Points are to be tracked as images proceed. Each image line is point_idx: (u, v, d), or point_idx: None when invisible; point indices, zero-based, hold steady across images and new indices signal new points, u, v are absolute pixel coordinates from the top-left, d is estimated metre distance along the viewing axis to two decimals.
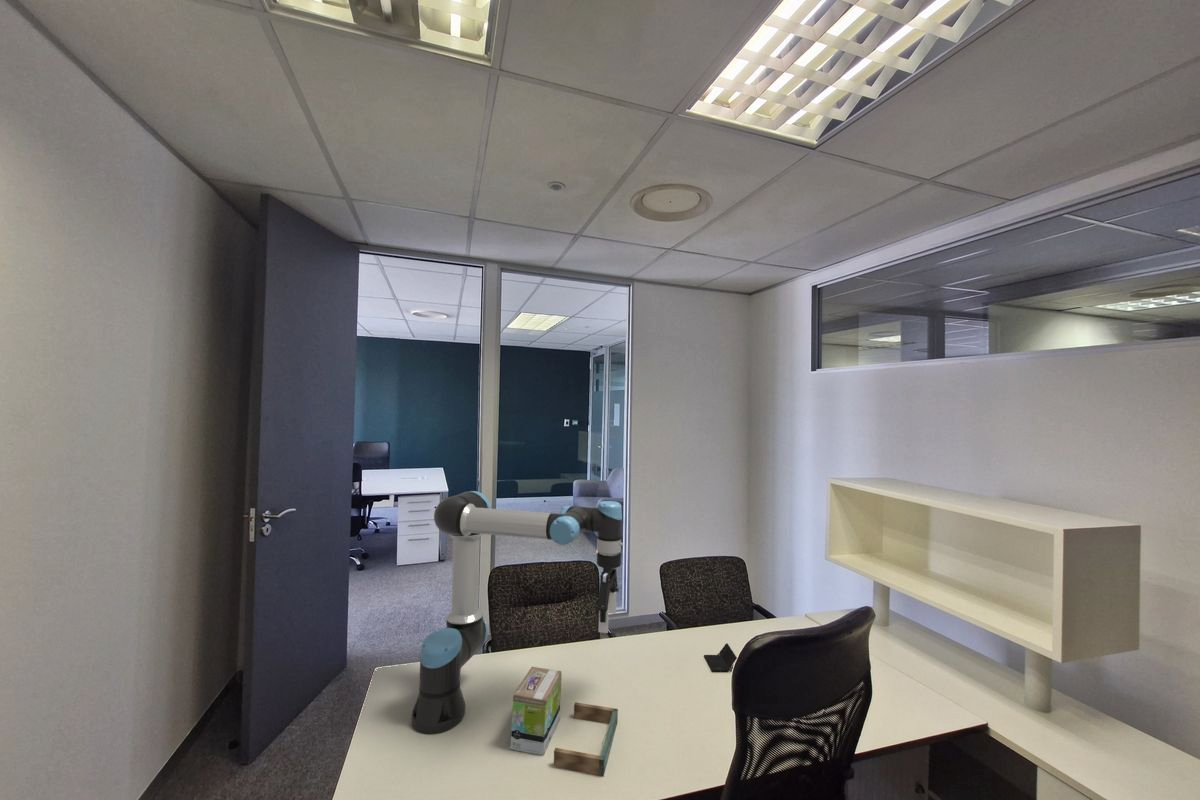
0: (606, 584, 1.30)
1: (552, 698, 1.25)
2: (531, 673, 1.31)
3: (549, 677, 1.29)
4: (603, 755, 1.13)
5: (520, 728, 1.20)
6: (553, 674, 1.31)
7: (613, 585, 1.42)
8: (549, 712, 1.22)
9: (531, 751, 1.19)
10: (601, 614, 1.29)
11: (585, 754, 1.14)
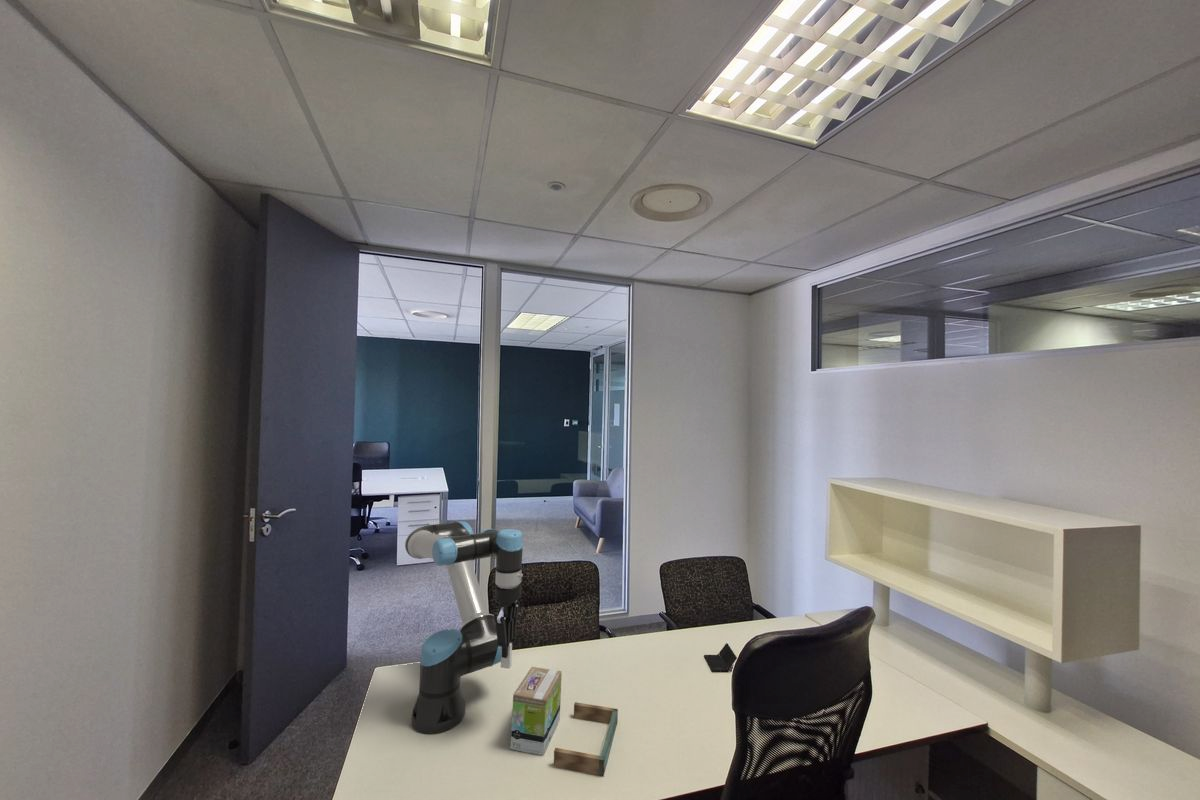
0: (502, 625, 1.25)
1: (552, 698, 1.25)
2: (531, 673, 1.31)
3: (549, 677, 1.29)
4: (603, 755, 1.13)
5: (520, 728, 1.20)
6: (553, 674, 1.31)
7: (510, 628, 1.30)
8: (549, 712, 1.22)
9: (531, 751, 1.19)
10: (502, 649, 1.28)
11: (585, 754, 1.14)
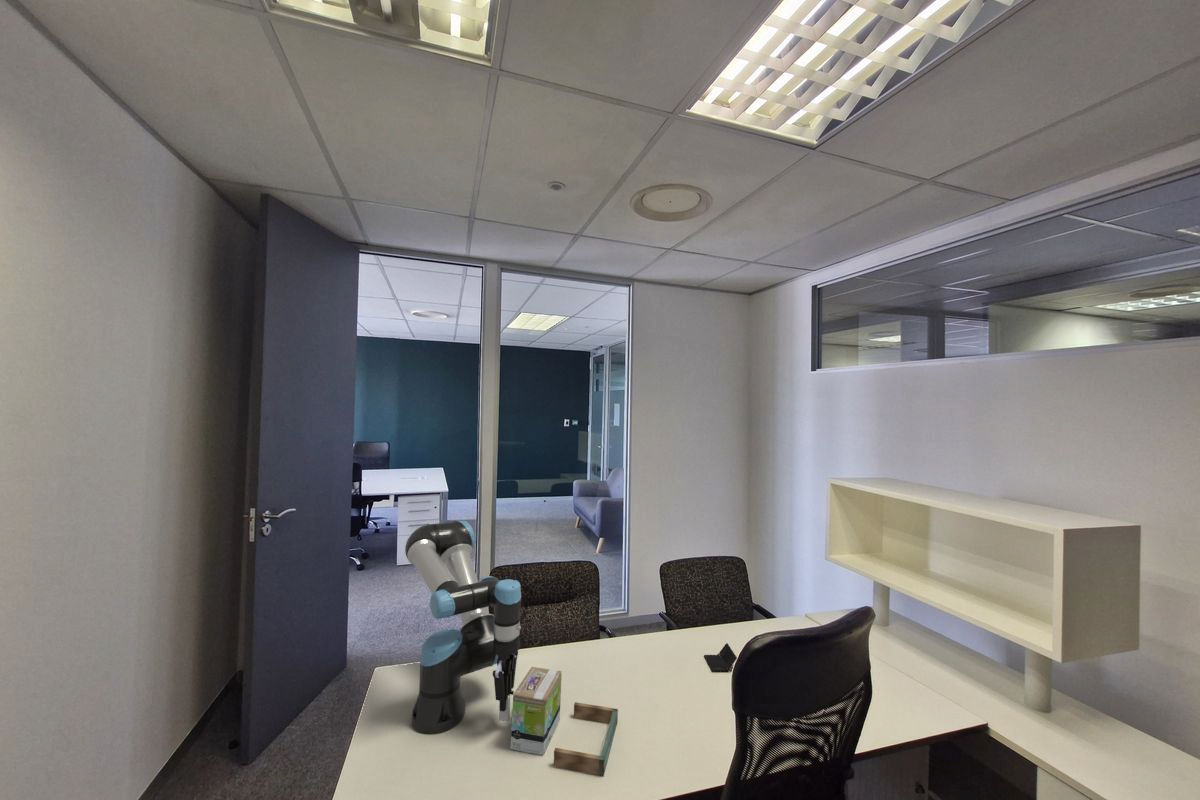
0: (500, 680, 1.24)
1: (552, 698, 1.25)
2: (531, 673, 1.31)
3: (549, 677, 1.29)
4: (603, 755, 1.13)
5: (520, 728, 1.20)
6: (553, 674, 1.31)
7: (508, 681, 1.30)
8: (549, 712, 1.22)
9: (531, 751, 1.19)
10: (501, 703, 1.27)
11: (585, 754, 1.14)
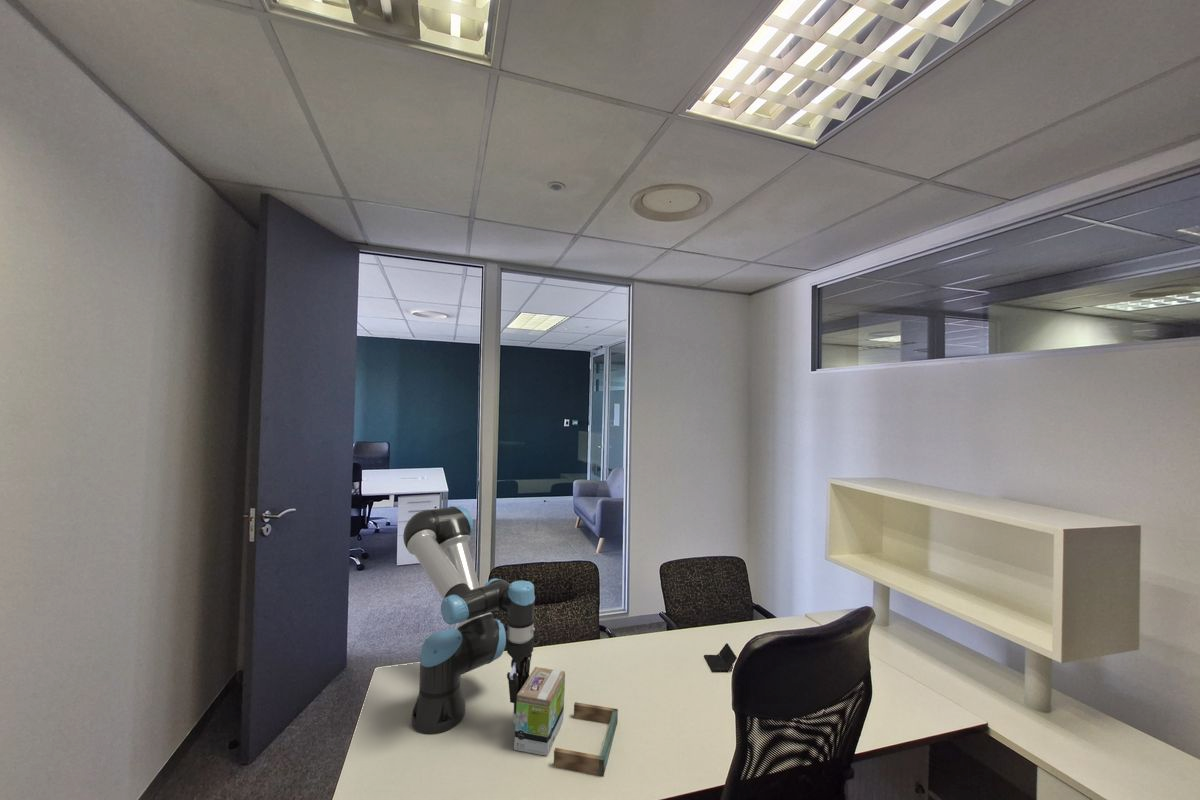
0: (514, 682, 1.23)
1: (556, 699, 1.24)
2: (534, 673, 1.31)
3: (552, 677, 1.29)
4: (603, 755, 1.13)
5: (524, 728, 1.20)
6: (557, 674, 1.31)
7: None
8: (553, 712, 1.22)
9: (535, 751, 1.19)
10: (515, 705, 1.26)
11: (585, 754, 1.14)
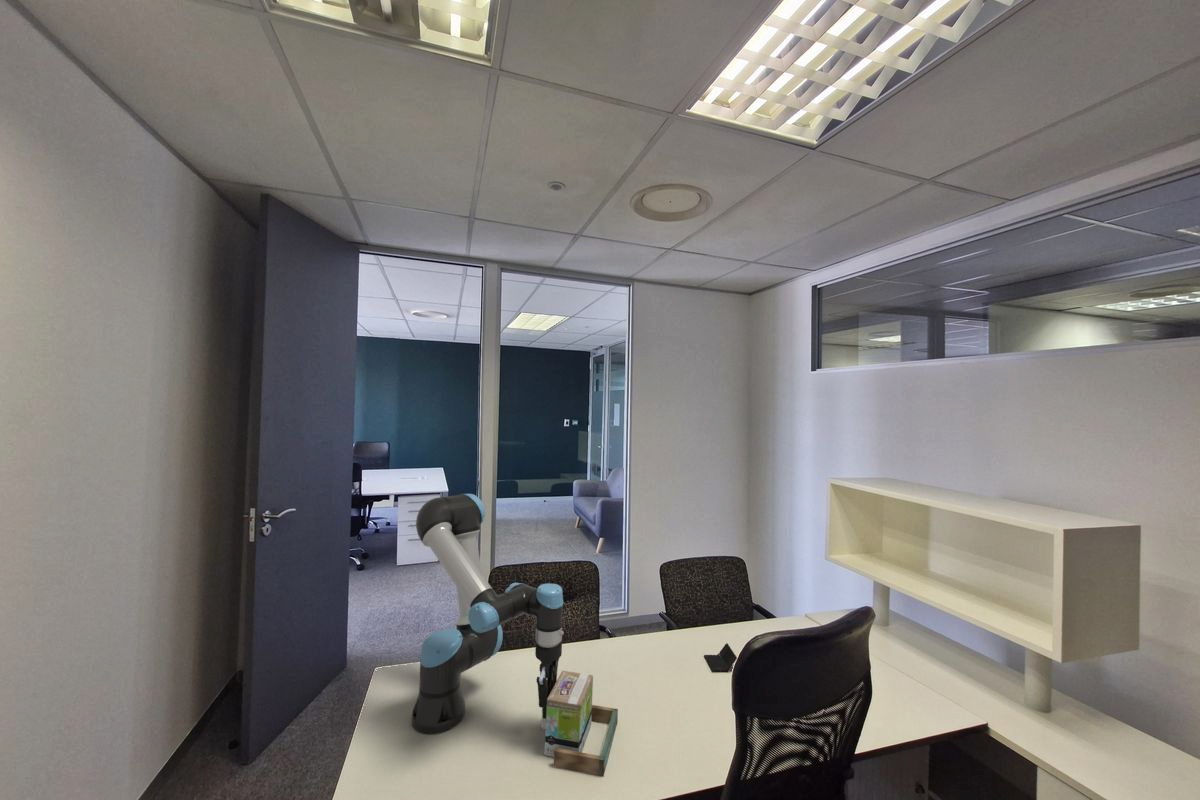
0: (544, 686, 1.21)
1: (586, 703, 1.23)
2: (562, 677, 1.29)
3: (581, 681, 1.27)
4: (603, 755, 1.13)
5: (554, 733, 1.18)
6: (585, 678, 1.29)
7: (551, 687, 1.27)
8: (583, 717, 1.20)
9: None
10: (544, 710, 1.24)
11: (585, 754, 1.14)
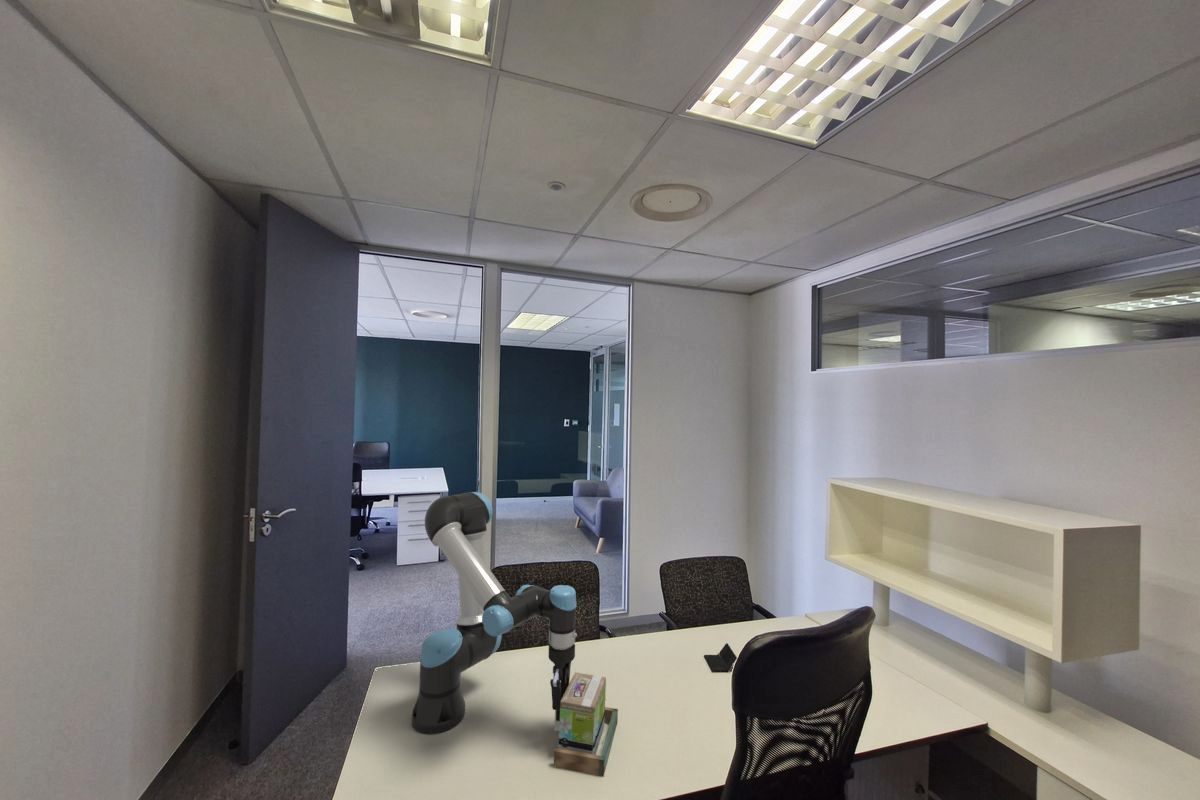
0: (558, 689, 1.20)
1: (599, 706, 1.22)
2: (575, 679, 1.29)
3: (594, 683, 1.26)
4: (603, 755, 1.13)
5: (568, 736, 1.17)
6: (598, 680, 1.28)
7: (564, 689, 1.26)
8: (597, 720, 1.19)
9: None
10: (557, 712, 1.23)
11: (585, 754, 1.14)
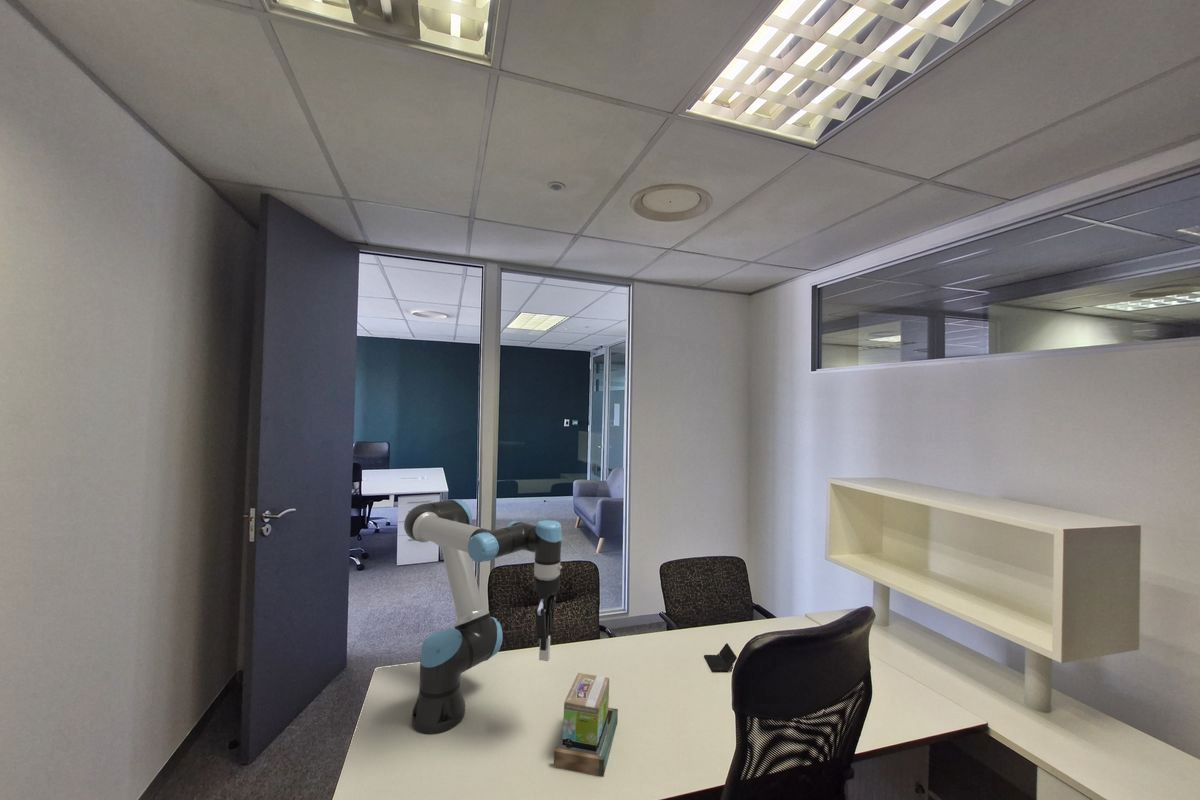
0: (542, 617, 1.22)
1: (603, 706, 1.22)
2: (578, 679, 1.28)
3: (597, 684, 1.26)
4: (603, 755, 1.13)
5: (572, 736, 1.17)
6: (601, 680, 1.28)
7: (548, 621, 1.28)
8: (601, 720, 1.19)
9: None
10: (541, 642, 1.26)
11: (585, 754, 1.14)
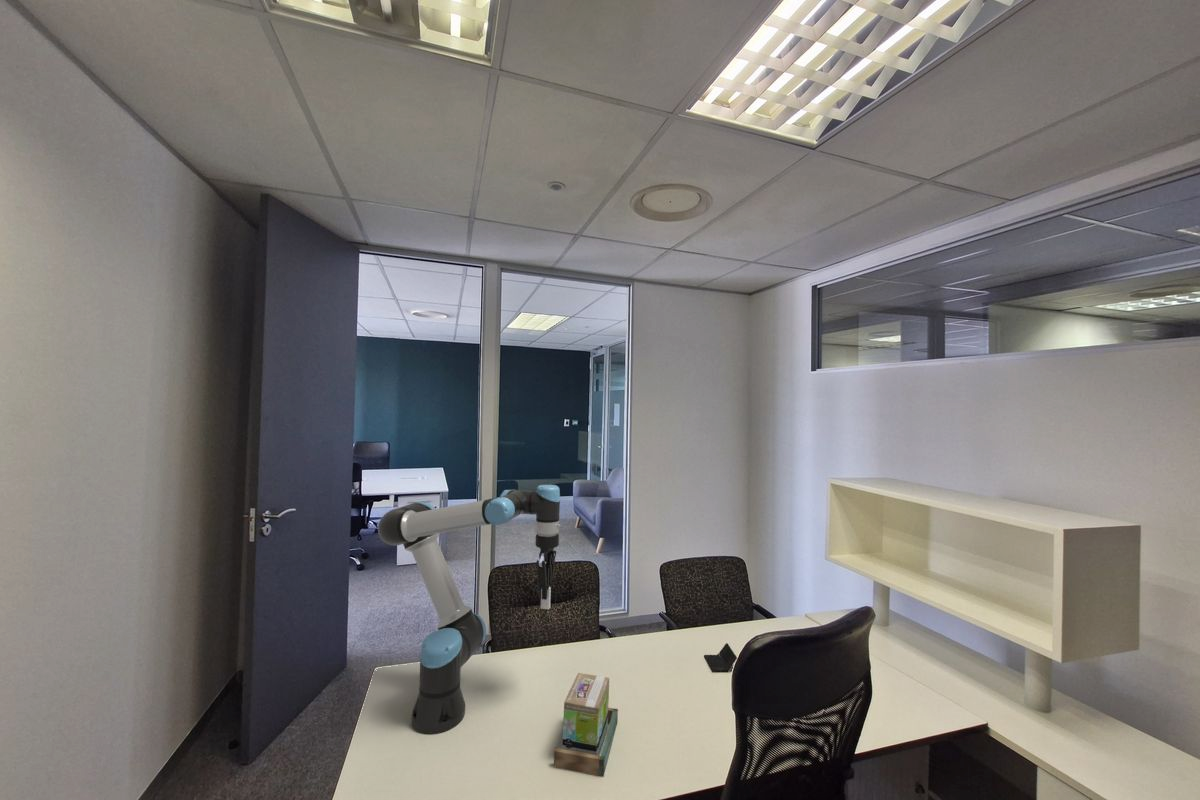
0: (543, 569, 1.38)
1: (603, 706, 1.22)
2: (578, 679, 1.28)
3: (597, 684, 1.26)
4: (603, 755, 1.13)
5: (572, 736, 1.17)
6: (601, 680, 1.28)
7: (549, 574, 1.43)
8: (600, 720, 1.19)
9: None
10: (543, 592, 1.41)
11: (585, 754, 1.14)
